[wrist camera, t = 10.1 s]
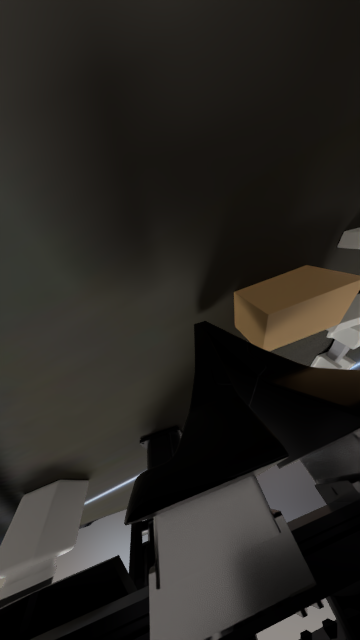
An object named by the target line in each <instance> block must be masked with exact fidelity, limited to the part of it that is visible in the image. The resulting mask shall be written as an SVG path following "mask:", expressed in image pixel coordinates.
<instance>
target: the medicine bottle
mask: <svg viewBox="0 0 360 640" xmlns="http://www.w3.org/2000/svg"><path fill="white" fill-rule="evenodd" d="M88 484H89V481H88V480H58V481H55V482H53V483H51V484H48V485H46V486H44V487H41V488H39V489H37V490H34V491H32V492H30V493H27V494H25V495H24V496H23V498H22V500H21V502H20V504H19V506H18V509H17V511H16V513H15V515H14V517H13V520H12V522H11V524H10V526H9V528H8V531H7V533H6V535H5V537H4V539H3V542H2V544H1V546H0V579H1V578H4V577H6V579H5V581H4V584H3V586H2V588H1V589H0V608H1V607H3V606H5V605H7V604H9V603H11V602H13V601H15V600H17V599H19V598H22V597H24V596H26V595H28V594H30V593H32V592H35V591H37V590H39V589H41V588H43V587H45V586H48V585H50V584H52V582H53V578H54V574H55V570H56V566H54V565H55V561H56V558H57V556H60V555H62V554H64V553H67V552H68V551H70V550H71V549H72V548H74V546H75V544H76V539H77V535H78V530H79V525H80V521H81V516H82V512H83V507H84V502H85V498H86V493H87V489H88Z"/></svg>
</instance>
